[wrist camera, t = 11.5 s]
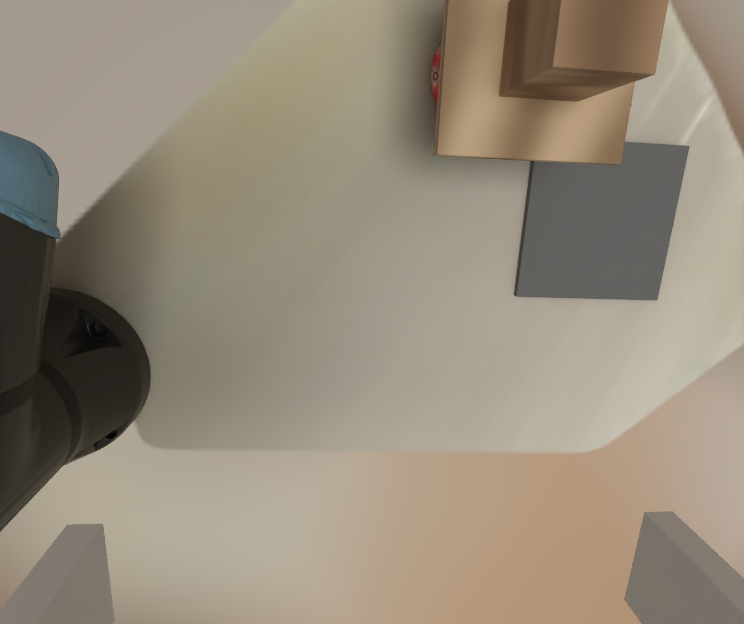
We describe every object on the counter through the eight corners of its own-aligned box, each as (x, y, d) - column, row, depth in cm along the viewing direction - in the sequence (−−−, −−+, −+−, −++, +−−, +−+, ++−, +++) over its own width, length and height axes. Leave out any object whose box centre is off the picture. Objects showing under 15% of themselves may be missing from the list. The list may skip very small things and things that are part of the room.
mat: (514, 295, 43) (516, 296, 43) (534, 137, 40) (537, 136, 39) (652, 298, 45) (657, 300, 44) (684, 146, 41) (689, 146, 41)
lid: (433, 155, 29) (470, 143, 22) (449, -66, 26) (499, -172, 19) (611, 165, 30) (707, 156, 23) (646, -46, 27) (770, -138, 20)
